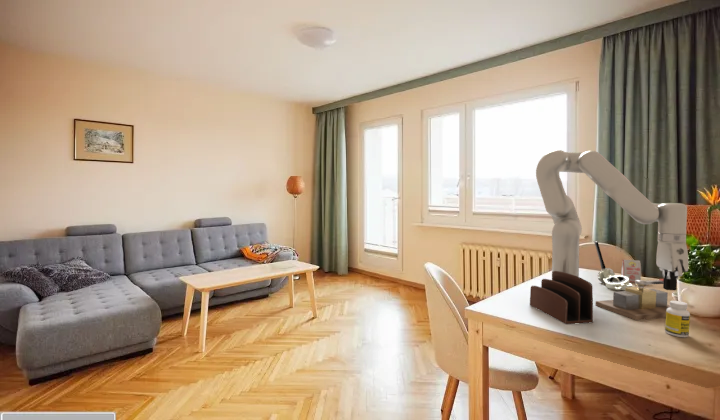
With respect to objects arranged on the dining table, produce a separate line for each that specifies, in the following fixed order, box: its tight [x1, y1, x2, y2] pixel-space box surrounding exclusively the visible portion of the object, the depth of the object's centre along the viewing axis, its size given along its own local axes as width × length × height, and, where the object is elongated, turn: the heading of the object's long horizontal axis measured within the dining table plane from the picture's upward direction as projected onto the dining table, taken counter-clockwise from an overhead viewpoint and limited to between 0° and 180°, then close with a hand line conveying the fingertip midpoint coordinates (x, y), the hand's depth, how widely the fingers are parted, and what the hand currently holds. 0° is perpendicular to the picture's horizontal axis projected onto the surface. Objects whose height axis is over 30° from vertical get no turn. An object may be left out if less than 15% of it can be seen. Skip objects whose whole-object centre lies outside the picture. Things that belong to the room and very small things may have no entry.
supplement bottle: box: [664, 300, 691, 338], centre depth 108 cm, size 5×5×10 cm
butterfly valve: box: [593, 240, 633, 291], centre depth 159 cm, size 9×20×17 cm
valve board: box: [595, 299, 671, 321], centre depth 130 cm, size 22×16×2 cm
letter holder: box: [529, 271, 594, 325], centre depth 127 cm, size 10×20×14 cm, turn 7°
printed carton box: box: [620, 259, 642, 283], centre depth 170 cm, size 4×7×10 cm, turn 64°
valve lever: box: [634, 278, 664, 287], centre depth 130 cm, size 15×3×2 cm, turn 96°
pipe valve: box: [612, 285, 669, 310], centre depth 129 cm, size 18×6×8 cm, turn 102°
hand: (669, 289), depth 127 cm, fingers closed
